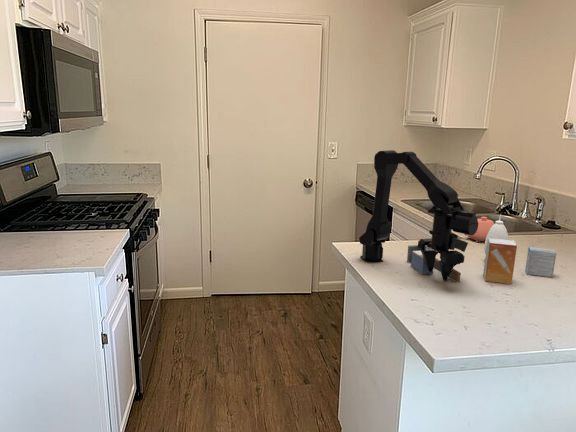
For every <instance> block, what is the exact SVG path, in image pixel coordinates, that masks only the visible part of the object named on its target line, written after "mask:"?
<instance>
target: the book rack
mask: <svg viewBox="0 0 576 432" xmlns="http://www.w3.org/2000/svg"><path fill="white" fill-rule="evenodd" d="M420 249H421V248H419V247H418V244H416V245H413V244H412V245H407V256H406V262H407V263H408V262H409V263H408V264H411V260H412V251H420ZM439 260H440V259H438V258H435V263H434V268H433V269H435V270H436V271H438V272H440V273H441V269H440V264H439ZM461 274H462V273H461V272H460V271H458V270H456V269H455V268H453V269H452V271H451V273H450V275H449V277H448V279H451V280H452V281H454V282H455V283H461Z"/></svg>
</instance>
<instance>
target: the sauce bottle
mask: <svg viewBox="0 0 576 432" xmlns="http://www.w3.org/2000/svg"><path fill="white" fill-rule="evenodd" d="M501 217H502V214H501V213H500V214H499V218H498V220H495V223H494V225H493V226H492V227H491V229H490V230H489V232H488V234H487V237H486V240H485V242H484V254H485V255H486V249H487V241H488V238H491V239H503V240H510V239H509V234H508V230H507V228H506V226H505V225H504V221H502V219H501Z"/></svg>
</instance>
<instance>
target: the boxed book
mask: <svg viewBox="0 0 576 432" xmlns="http://www.w3.org/2000/svg"><path fill="white" fill-rule="evenodd" d="M410 267H411V268H413V269H414V270H415V271H417V272H418V273H420V274H421V275H423V274H424V275H426V274H433V273H434V270H433V271H432V272H429V270H428V267H427V265H426V262H425V259H424V257H423V255H422V252H421V251H412V260H411V263H410Z"/></svg>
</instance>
